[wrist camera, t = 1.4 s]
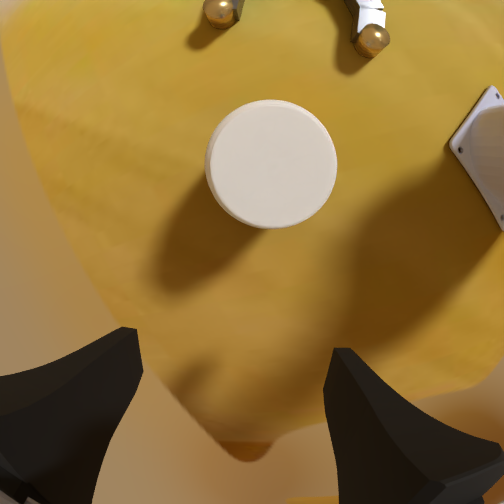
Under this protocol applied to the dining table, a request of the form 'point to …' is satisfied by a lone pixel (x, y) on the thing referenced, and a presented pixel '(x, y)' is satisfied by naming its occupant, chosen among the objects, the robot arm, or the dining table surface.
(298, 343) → the dining table surface
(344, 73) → the dining table surface
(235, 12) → the snap ring
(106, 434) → the robot arm
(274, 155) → the pill bottle
